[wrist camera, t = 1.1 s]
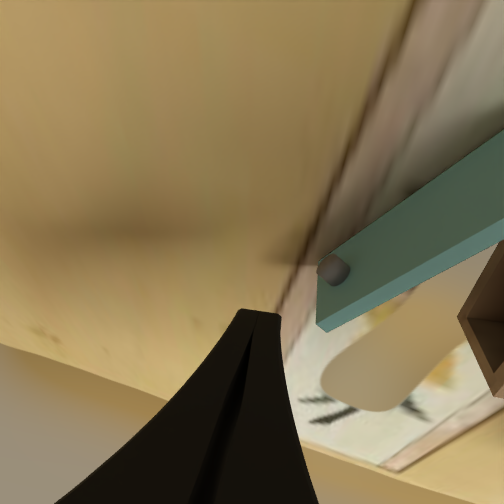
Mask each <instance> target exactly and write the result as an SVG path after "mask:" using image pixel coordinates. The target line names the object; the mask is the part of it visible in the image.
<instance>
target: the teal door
mask: <svg viewBox="0 0 504 504" xmlns="http://www.w3.org/2000/svg"><path fill="white" fill-rule="evenodd" d="M502 240H504V130H502V131H501V132H500V133H498V134H497V135H495V136H494V137H492V138H491V139H490V140H488V141H487V142H485V143H484V144H483V145H481V146H480V147H478V148H477V149H476V150H474V151H473V152H471V153H470V154H469V155H467V156H466V157H464V158H463V159H462V160H460V161H459V162H457V163H456V164H455V165H453V166H452V167H450V168H449V169H447V170H446V171H445V172H443V173H442V174H440V175H439V176H438V177H436V178H435V179H433V180H432V181H431V182H429V183H428V184H426V185H425V186H424V187H422V188H421V189H419V190H418V191H417V192H415V193H414V194H412V195H411V196H410V197H408V198H407V199H405V200H404V201H402V202H401V203H400V204H398V205H397V206H395V207H394V208H393V209H391V210H390V211H388V212H387V213H386V214H384V215H383V216H381V217H380V218H379V219H377V220H376V221H374V222H373V223H372V224H370V225H369V226H367V227H366V228H365V229H363V230H362V231H360V232H359V233H357V234H356V235H355V236H353V237H352V238H350V239H349V240H348V241H346V242H345V243H343V244H342V245H341V246H339V247H338V248H336V249H335V250H334V251H332V252H331V253H329V254H328V255H327V256H325V257H324V258H322V259H321V260H319V261H318V268H317V274H318V280H317V304H316V325H318V326H319V327H320V328H321V329H323V330H324V331H325V332H326V333H327V332H329V331H331V330H333V329H335V328H337V327H339V326H341V325H343V324H345V323H346V322H348V321H350V320H352V319H354V318H356V317H358V316H360V315H362V314H363V313H365V312H367V311H369V310H371V309H373V308H375V307H377V306H379V305H381V304H382V303H384V302H386V301H388V300H390V299H392V298H394V297H396V296H398V295H399V294H401V293H403V292H405V291H407V290H409V289H411V288H413V287H415V286H417V285H418V284H420V283H422V282H424V281H426V280H428V279H430V278H432V277H434V276H436V275H437V274H439V273H441V272H443V271H445V270H447V269H449V268H451V267H453V266H454V265H456V264H458V263H460V262H462V261H464V260H466V259H468V258H470V257H471V256H473V255H475V254H477V253H479V252H481V251H483V250H485V249H487V248H489V247H490V246H492V245H494V244H496V243H498V242H500V241H502Z"/></svg>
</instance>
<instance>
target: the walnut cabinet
mask: <svg viewBox="0 0 504 504" xmlns="http://www.w3.org/2000/svg"><path fill="white" fill-rule="evenodd" d="M457 318H458V320H459V322H460V324H461V327H462V329H463V331H464V333H465V335H466V338H467V340H468V342H469V344H470V346H471V349H472V351H473V353H474V355H475V357H476V360H477V362H478V364H479V366H480V368H481V371H482V373H483V375H484V377H485V379H486V381H487V384H488V386H489V388H490V390H491V392H492V395H493V397H498V398H504V240H502V241H500V242H499V243H498V245H497V247H496V249H495V251H494V252H493V254H492V256H491V258H490V259H489V261H488V263H487V265H486V266H485V268H484V270H483V272H482V273H481V275H480V277H479V279H478V280H477V282H476V284H475V286H474V288H473V290H472V291H471V293H470V295H469V296H468V298H467V300H466V302H465V303H464V305H463V307H462V309H461V310H460V312H459V314H458V316H457Z"/></svg>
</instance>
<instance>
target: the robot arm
mask: <svg viewBox="0 0 504 504" xmlns="http://www.w3.org/2000/svg"><path fill="white" fill-rule="evenodd" d="M281 318H282V317H281V316H280V315H279V314H276V313H269V312H262V311H260V312H259V311H256V310H249V309H242V308H241V309H240V310H238V311H237V313H236V315H235V317H234V318H233V320H232V322H231V323H230V325H229V326H228V328H227V329H226V331H225V332H224V334H223V335H222V337H221V338H220V340H219V341H218V342H217V344H216V345H215V346H214V348H213V349H212V350H211V352H210V353H209V354H208V356H207V357H206V358H205V360H204V361H203V362H202V364H201V365H200V366H199V367H198V368H197V370H196V371H195V372H194V373H193V374H192V376H191V377H190V378H189V379H188V380H187V381H186V383H185V384H184V385H183V386H182V387H181V388H180V390H179V391H178V392H177V393H176V394H175V395H174V396H173V397H172V398H171V399H170V401H169V402H168V403H167V404H166V405H165V406H164V407H163V408H162V409H161V410H160V411H159V412H158V413H157V414H156V415H155V416H154V417H153V418H152V419H151V420H150V421H149V422H148V423H147V424H146V425H145V426H144V427H143V428H142V429H141V430H140V431H139V432H138V433H137V434H136V435H135V436H134V437H132V438H131V439H130V440H129V441H128V442H127V443H126V444H125V445H124V446H123V447H122V448H120V449H119V450H118V451H117V452H116V453H115V454H114V455H112V456H111V457H110V458H109V459H108V460H107V461H105V462H104V463H103V464H102V465H101V466H100V467H98V468H97V469H96V470H95V471H94V472H93V473H91V474H90V475H89V476H88V477H87V478H86V479H84V480H83V481H82V482H81V483H80V484H79V485H77V486H76V487H75V488H74V489H72V490H71V491H70V492H68V493H67V494H66V495H65V496H63V497H62V498H61V499H59V500H58V501H57V502H56V503H54V504H319V503H318V500H317V497H316V494H315V491H314V488H313V485H312V482H311V479H310V476H309V472H308V469H307V466H306V462H305V459H304V456H303V452H302V448H301V445H300V441H299V437H298V434H297V430H296V426H295V422H294V418H293V414H292V409H291V405H290V400H289V396H288V391H287V385H286V380H285V373H284V367H283V360H282V352H281V337H280V330H281Z"/></svg>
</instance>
